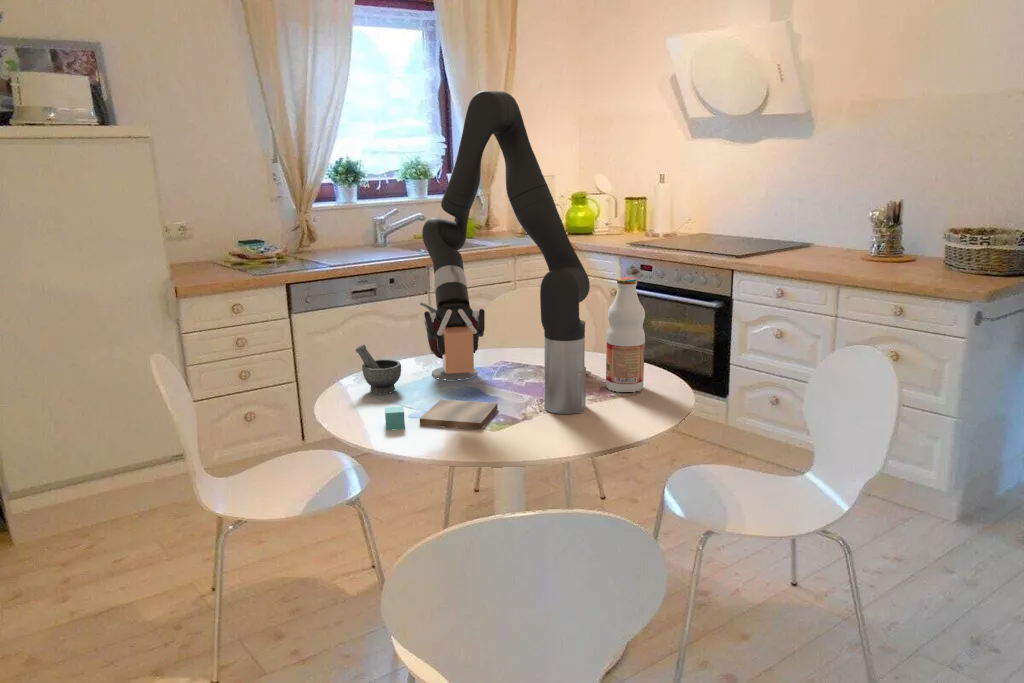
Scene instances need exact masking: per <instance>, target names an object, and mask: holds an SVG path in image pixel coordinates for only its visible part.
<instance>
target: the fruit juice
mask: <svg viewBox="0 0 1024 683" xmlns="http://www.w3.org/2000/svg"><path fill="white" fill-rule="evenodd" d="M616 285H617V292H616V294H615V297H614V299H613V300H614V301H613V302H612V303H611V304H610V306H609V308H608V310H607V319H608V324H609V325H608V326H609V327H608V329H607V330H606V351H605V352H606V357H605V362H606V363H605V387H606V388H608V389H607V390H608V391H611V390H612V391H611V392H614V391H616V392H615V393H619V392H633V393H636V392H635V391H638V392H640V391H641V389H642V390H643V388H644V375H645V374H644V371H645V345H646V344H645V343H646V337H645V336H646V335H645V330H644V327H643V325H644V320H645V318H646V313H645V308H644V307H643V305H642V303H641V301H640V299H639V296H638V293H637V286H638V279H637V278H635V277H632V276H631V277H630V276H629V277H624V276H622V277H618V278H617V280H616ZM639 390H640V391H639Z"/></svg>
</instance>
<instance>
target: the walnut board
mask: <svg viewBox="0 0 1024 683" xmlns="http://www.w3.org/2000/svg"><path fill="white" fill-rule="evenodd" d="M497 409H498V403H497V402H486V401H485V402H484V401H470V400H469V401H468V400H455V399H442V398H441V399H439V400H438V401H436V403H435V404H434V405H433V406H431V408H429V410H427V411H426V412H425V413H424V414H423V415H421V417H420V418H419V426H428V427H429V426H430V427H439V426H441V427H442V426H444V427H442V428H452V427H458V428H457V429H465V428H467V430H468V429H469V430H477V429H478V430H479V429H480V431H481V430H482V429H483V428H484V427H483V426H485V425H486V424H487V423H488V422H489V421H490V419H491V418H492V417H493V416H494V414H496V412H497V411H498V410H497ZM492 415H493V416H492ZM491 416H492V417H491ZM487 421H488V422H487ZM441 427H440V428H441ZM482 427H483V428H482Z"/></svg>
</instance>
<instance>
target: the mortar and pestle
mask: <svg viewBox="0 0 1024 683" xmlns="http://www.w3.org/2000/svg"><path fill="white" fill-rule="evenodd" d="M355 353H357V354H358V356H359V357H360V359H361V360H362V362H363V363H362V364H361V371H362V375H363V377H364V379H365V380H364V381H366V383H367V384H368V385H369V386H370V392H371V394H374V393H375V395H386V394H385V393H388V394H391V393H390V392H392V393H394V392H395V391H396V387H395V384H396V383H397V382H398V381H399V379H400V377H401V373H402V364H401V362H400V361H399V360H394V359H374V358H373V356H372V355H371V353H370V352H369V351H368V349H367V346H366V344H361V345H359V346H358V347H356V349H355ZM394 390H395V391H394ZM393 391H394V392H393Z"/></svg>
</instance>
